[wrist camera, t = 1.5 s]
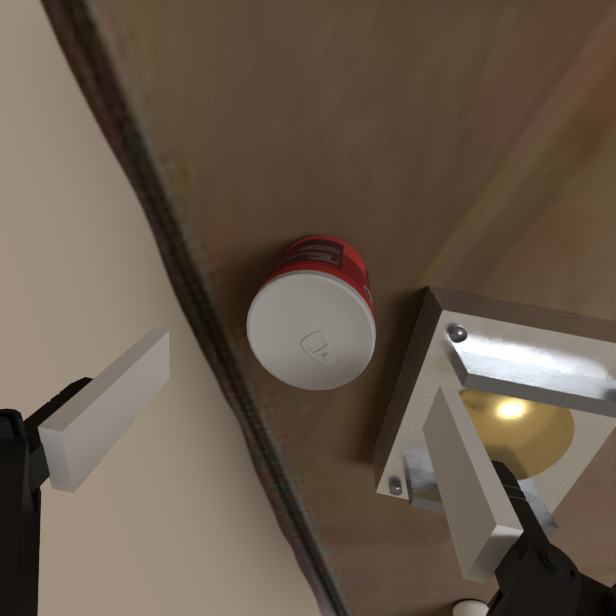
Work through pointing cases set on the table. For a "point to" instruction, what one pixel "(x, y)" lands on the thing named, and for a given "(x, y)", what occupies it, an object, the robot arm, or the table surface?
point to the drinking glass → (470, 608)
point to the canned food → (314, 316)
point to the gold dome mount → (502, 395)
